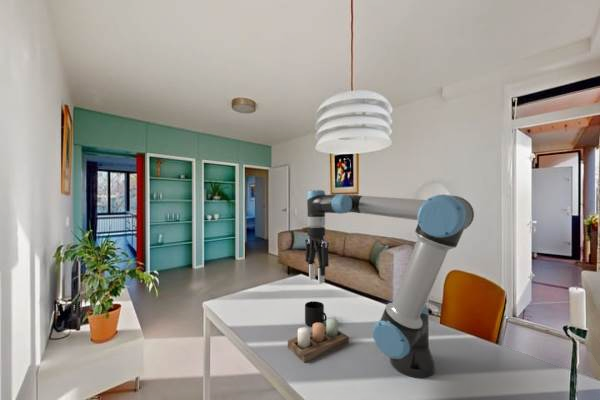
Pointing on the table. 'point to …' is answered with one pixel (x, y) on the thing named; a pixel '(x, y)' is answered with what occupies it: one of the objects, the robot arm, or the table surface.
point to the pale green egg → (332, 327)
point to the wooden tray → (318, 346)
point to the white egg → (303, 338)
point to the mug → (314, 313)
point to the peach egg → (318, 332)
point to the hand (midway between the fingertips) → (316, 280)
